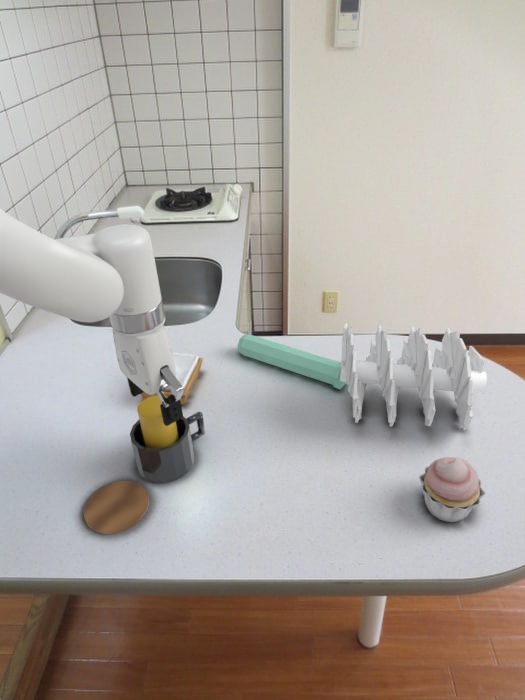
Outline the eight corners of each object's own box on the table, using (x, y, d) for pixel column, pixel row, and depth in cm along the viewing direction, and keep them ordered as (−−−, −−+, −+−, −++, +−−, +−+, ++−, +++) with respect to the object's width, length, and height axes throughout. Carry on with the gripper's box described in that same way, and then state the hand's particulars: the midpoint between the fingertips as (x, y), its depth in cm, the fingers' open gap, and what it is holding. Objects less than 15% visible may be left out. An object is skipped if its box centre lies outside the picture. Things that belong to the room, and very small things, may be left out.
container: (235, 331, 113) (340, 364, 101) (250, 329, 118) (352, 359, 106) (231, 357, 115) (334, 392, 103) (246, 354, 120) (346, 386, 108)
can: (143, 467, 89) (130, 414, 82) (158, 445, 93) (147, 392, 86) (173, 475, 87) (162, 421, 80) (187, 451, 92) (178, 398, 85)
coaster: (71, 525, 80) (70, 522, 80) (107, 477, 88) (106, 475, 88) (128, 541, 78) (127, 539, 77) (160, 490, 85) (159, 488, 85)
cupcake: (461, 478, 85) (472, 433, 79) (489, 526, 77) (505, 480, 72) (405, 486, 84) (413, 441, 78) (429, 535, 76) (439, 489, 71)
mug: (157, 493, 85) (150, 460, 81) (127, 461, 91) (119, 429, 87) (221, 452, 92) (217, 420, 88) (190, 425, 98) (185, 394, 94)
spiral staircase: (472, 449, 96) (334, 435, 98) (465, 364, 104) (339, 353, 107) (508, 408, 80) (343, 393, 82) (496, 312, 89) (348, 301, 91)
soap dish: (187, 410, 102) (184, 389, 99) (140, 405, 103) (135, 385, 100) (204, 372, 112) (202, 352, 109) (161, 368, 113) (157, 349, 111)
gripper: (84, 302, 77) (109, 392, 87) (146, 349, 66) (166, 445, 76) (129, 285, 81) (148, 372, 91) (194, 326, 70) (207, 421, 80)
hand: (156, 406), depth 84 cm, fingers open, 9 cm apart
